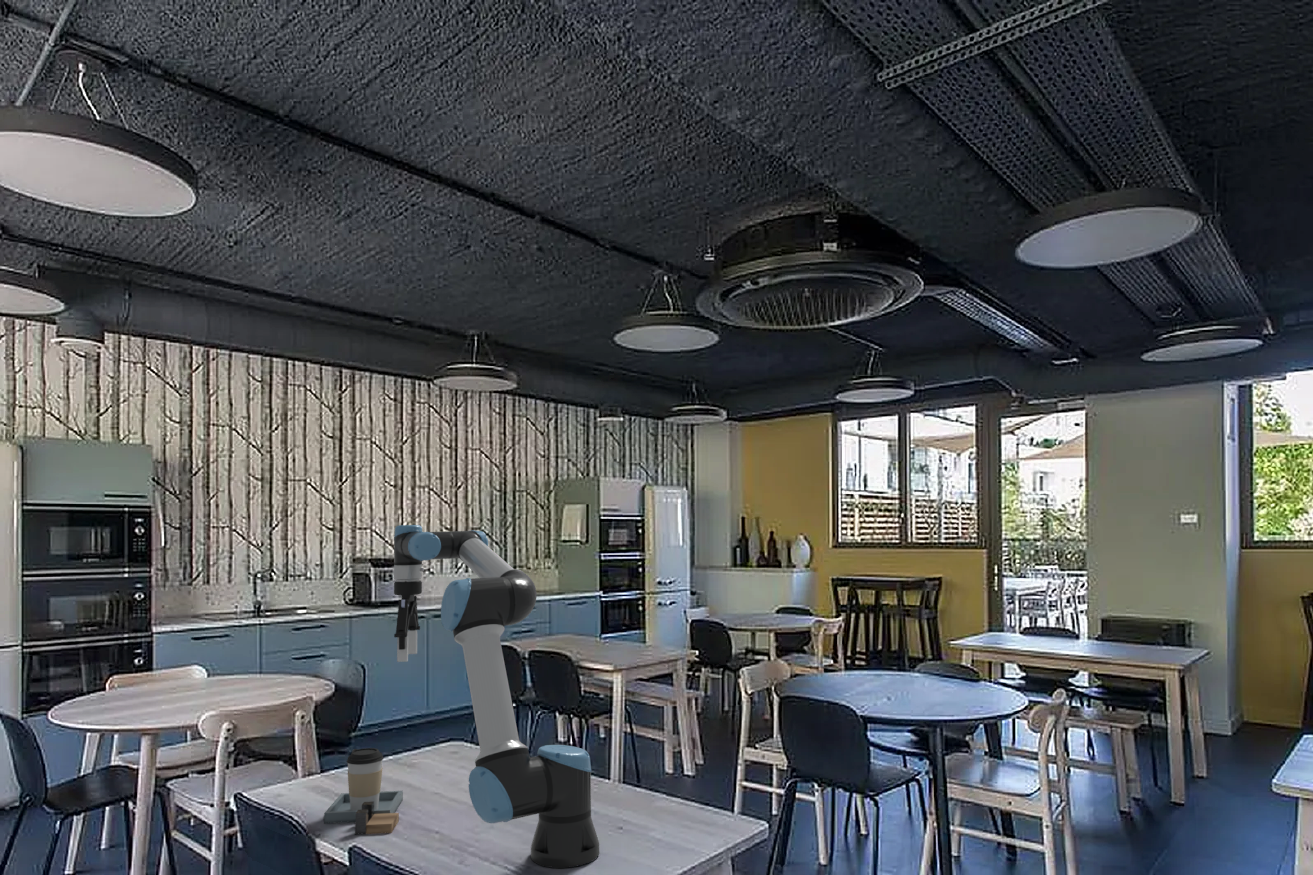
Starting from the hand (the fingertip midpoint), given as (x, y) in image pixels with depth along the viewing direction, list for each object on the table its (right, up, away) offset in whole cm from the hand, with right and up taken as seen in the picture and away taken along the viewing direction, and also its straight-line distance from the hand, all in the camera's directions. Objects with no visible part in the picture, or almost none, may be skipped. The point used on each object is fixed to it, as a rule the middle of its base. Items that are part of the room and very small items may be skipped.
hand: (407, 657), depth 244 cm
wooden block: (+2, -35, -29) cm, 45 cm away
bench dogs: (-2, -34, -30) cm, 45 cm away
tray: (-6, -35, -17) cm, 40 cm away
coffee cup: (-6, -35, -17) cm, 40 cm away
